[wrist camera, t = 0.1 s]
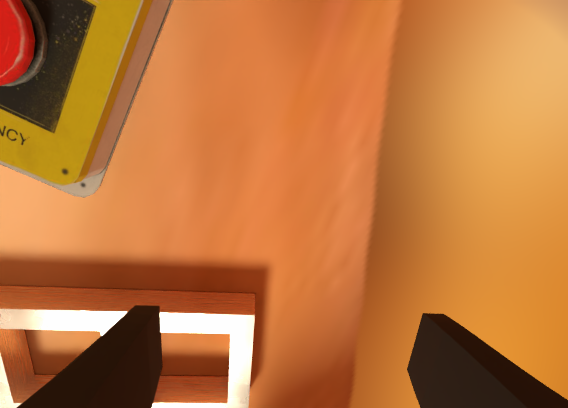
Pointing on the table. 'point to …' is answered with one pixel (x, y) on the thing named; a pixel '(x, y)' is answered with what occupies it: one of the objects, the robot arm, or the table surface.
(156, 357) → the robot arm
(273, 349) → the table surface
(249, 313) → the tan slotted board
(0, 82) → the emergency button
